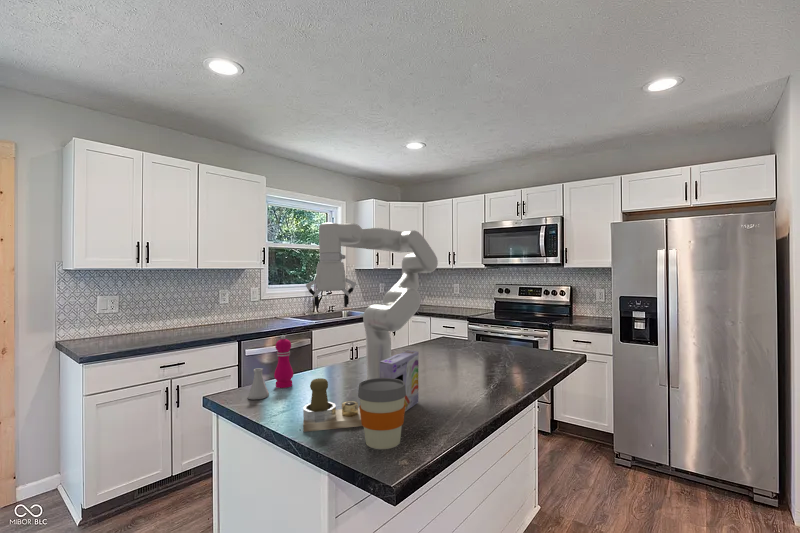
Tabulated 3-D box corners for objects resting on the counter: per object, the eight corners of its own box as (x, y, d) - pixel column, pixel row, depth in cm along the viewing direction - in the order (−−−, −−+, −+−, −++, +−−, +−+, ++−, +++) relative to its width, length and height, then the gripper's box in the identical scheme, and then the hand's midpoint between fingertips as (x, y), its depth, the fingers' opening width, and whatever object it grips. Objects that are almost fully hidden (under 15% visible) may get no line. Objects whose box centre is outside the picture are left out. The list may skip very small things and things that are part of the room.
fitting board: (363, 413, 126) (363, 407, 126) (367, 425, 117) (367, 418, 117) (304, 419, 123) (304, 412, 123) (303, 431, 113) (303, 424, 113)
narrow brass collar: (357, 410, 123) (357, 400, 123) (359, 416, 119) (358, 405, 119) (341, 412, 122) (341, 401, 122) (342, 417, 118) (342, 406, 118)
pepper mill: (283, 389, 154) (282, 337, 154) (270, 387, 158) (269, 335, 158) (297, 384, 160) (296, 334, 160) (284, 382, 164) (283, 333, 164)
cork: (333, 414, 121) (333, 377, 121) (323, 421, 115) (323, 382, 115) (315, 412, 123) (315, 375, 123) (305, 419, 117) (304, 381, 117)
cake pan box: (391, 423, 118) (390, 362, 118) (376, 420, 121) (375, 361, 121) (420, 403, 135) (419, 350, 135) (407, 401, 137) (406, 349, 138)
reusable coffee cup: (369, 430, 113) (368, 376, 113) (412, 434, 110) (411, 379, 110) (351, 449, 101) (350, 389, 101) (399, 455, 98) (397, 392, 98)
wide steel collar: (334, 410, 124) (334, 400, 124) (336, 420, 115) (336, 410, 115) (303, 412, 122) (303, 403, 122) (303, 424, 113) (303, 413, 113)
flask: (262, 400, 141) (262, 372, 141) (243, 399, 143) (243, 371, 143) (272, 394, 148) (272, 367, 148) (254, 393, 150) (254, 366, 150)
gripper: (354, 258, 147) (355, 305, 147) (305, 259, 143) (306, 307, 143) (356, 257, 140) (357, 307, 139) (305, 258, 136) (306, 309, 136)
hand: (331, 307), depth 141 cm, fingers open, 9 cm apart
